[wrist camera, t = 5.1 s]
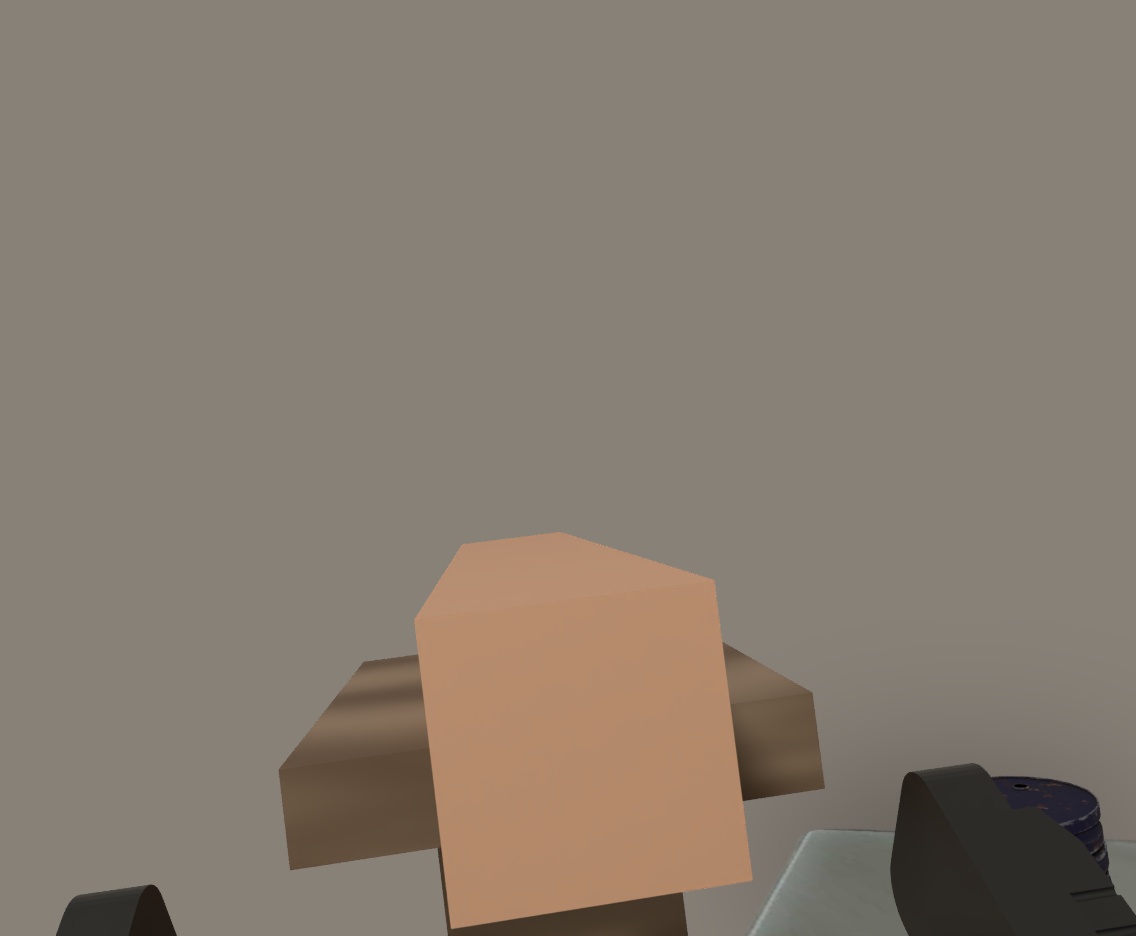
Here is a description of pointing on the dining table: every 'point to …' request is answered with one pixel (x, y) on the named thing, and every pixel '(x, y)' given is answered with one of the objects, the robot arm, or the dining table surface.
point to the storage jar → (1060, 808)
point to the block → (577, 729)
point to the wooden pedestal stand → (407, 797)
